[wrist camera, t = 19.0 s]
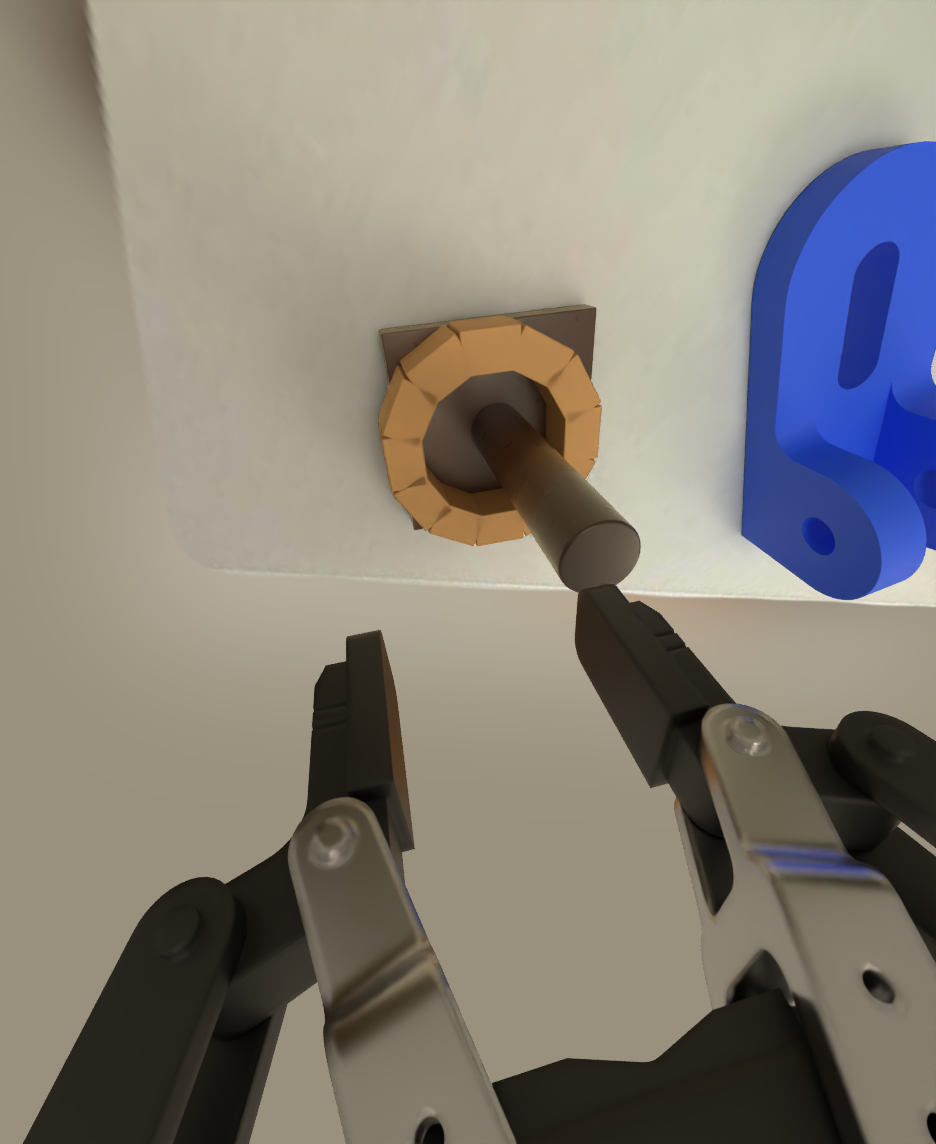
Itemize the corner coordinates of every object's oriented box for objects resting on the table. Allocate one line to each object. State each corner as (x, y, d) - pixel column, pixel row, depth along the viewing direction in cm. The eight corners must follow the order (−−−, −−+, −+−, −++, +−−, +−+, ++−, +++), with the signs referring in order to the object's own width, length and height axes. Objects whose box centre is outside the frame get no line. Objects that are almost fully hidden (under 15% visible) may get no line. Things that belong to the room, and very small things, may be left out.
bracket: (863, 485, 30) (1025, 563, 23) (741, 535, 30) (864, 626, 23) (946, 115, 19) (1300, 44, 12) (757, 195, 20) (996, 170, 12)
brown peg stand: (411, 519, 25) (455, 701, 15) (379, 329, 20) (414, 420, 10) (574, 491, 26) (712, 643, 16) (585, 304, 21) (802, 363, 11)
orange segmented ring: (399, 534, 24) (404, 560, 22) (360, 332, 18) (362, 343, 16) (572, 503, 25) (592, 525, 23) (584, 304, 20) (610, 312, 18)
